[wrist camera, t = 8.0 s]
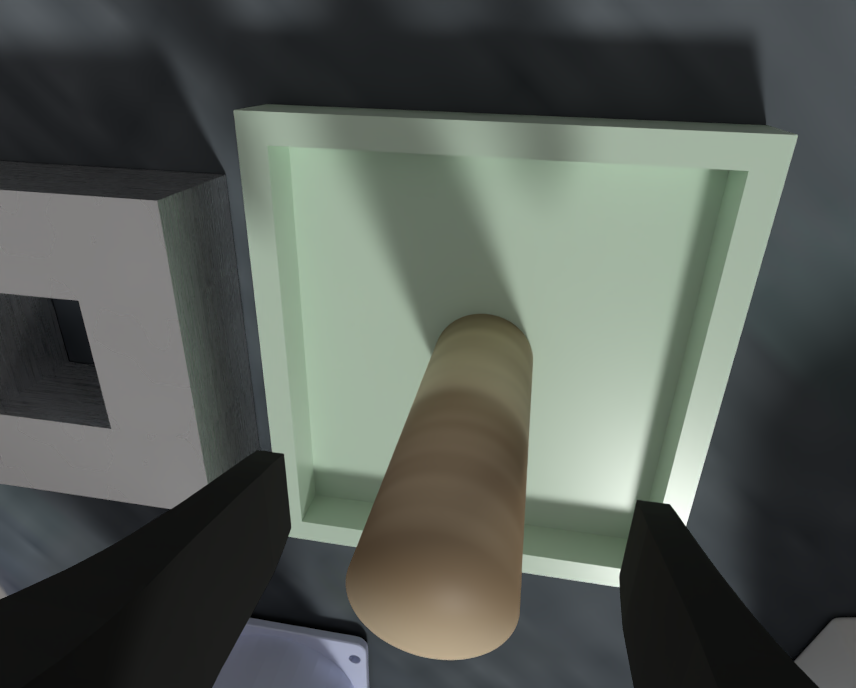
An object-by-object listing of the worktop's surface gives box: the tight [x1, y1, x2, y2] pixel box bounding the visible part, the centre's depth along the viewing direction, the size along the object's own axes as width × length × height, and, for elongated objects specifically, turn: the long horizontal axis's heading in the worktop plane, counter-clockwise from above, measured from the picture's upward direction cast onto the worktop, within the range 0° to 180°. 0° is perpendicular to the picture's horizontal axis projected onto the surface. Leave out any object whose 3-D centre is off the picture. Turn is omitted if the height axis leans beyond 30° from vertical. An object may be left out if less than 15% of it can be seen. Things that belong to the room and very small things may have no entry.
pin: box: [346, 314, 533, 660], centre depth 14 cm, size 3×3×9 cm
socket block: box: [0, 161, 260, 509], centre depth 19 cm, size 10×10×4 cm
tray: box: [234, 104, 798, 587], centre depth 18 cm, size 14×13×2 cm
